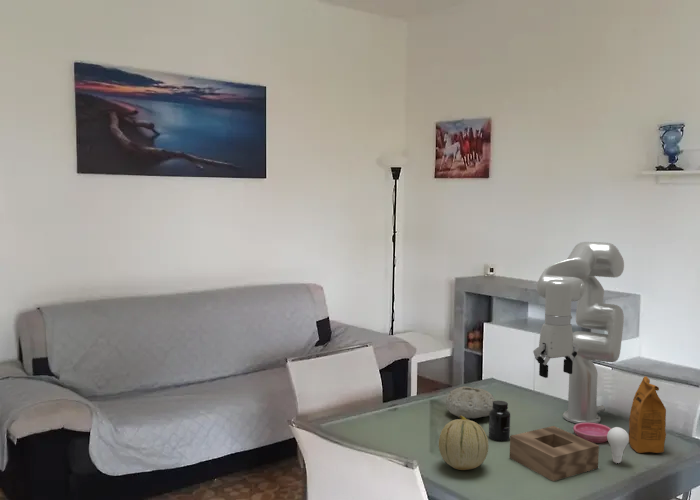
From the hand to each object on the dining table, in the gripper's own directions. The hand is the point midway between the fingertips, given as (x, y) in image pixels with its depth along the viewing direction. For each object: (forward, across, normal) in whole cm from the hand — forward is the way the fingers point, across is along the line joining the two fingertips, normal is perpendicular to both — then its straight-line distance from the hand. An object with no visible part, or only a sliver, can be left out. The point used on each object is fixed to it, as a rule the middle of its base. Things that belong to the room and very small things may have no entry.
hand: (555, 374), depth 203 cm
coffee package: (+25, -30, +9) cm, 40 cm away
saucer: (+25, -21, -5) cm, 34 cm away
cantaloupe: (+25, +32, -3) cm, 41 cm away
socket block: (+25, +5, +6) cm, 26 cm away
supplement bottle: (+25, +7, -17) cm, 31 cm away
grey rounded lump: (+25, +3, -38) cm, 46 cm away
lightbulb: (+25, -12, +14) cm, 31 cm away
